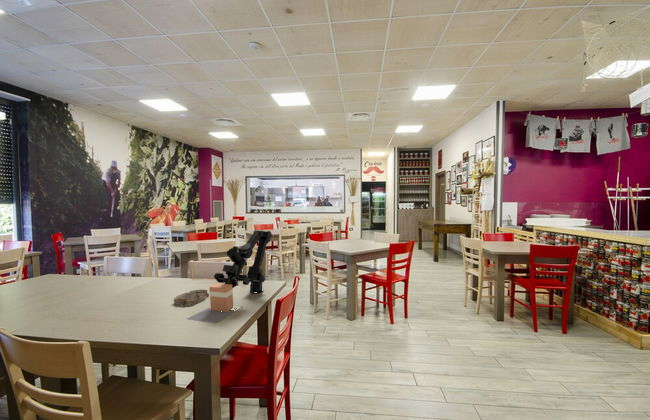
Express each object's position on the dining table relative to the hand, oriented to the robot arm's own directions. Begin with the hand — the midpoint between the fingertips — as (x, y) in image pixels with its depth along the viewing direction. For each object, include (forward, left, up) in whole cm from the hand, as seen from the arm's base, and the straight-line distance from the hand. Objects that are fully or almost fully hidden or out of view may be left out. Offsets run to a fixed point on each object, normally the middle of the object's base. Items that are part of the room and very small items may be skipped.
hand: (224, 293), depth 145 cm
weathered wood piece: (+4, -26, -9) cm, 28 cm away
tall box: (+2, +1, -7) cm, 8 cm away
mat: (+6, +3, -8) cm, 10 cm away
